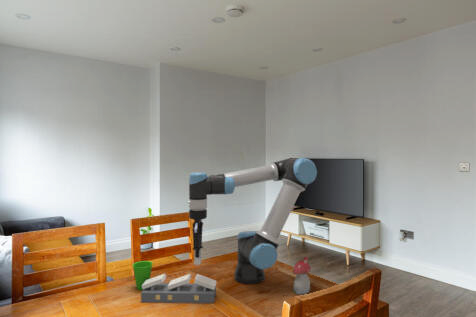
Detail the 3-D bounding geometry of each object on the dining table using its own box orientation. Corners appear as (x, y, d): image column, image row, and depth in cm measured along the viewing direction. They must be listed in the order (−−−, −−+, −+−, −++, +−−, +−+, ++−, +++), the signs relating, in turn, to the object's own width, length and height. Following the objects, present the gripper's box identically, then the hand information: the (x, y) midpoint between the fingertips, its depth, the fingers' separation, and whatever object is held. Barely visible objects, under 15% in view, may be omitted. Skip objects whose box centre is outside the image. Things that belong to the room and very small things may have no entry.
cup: (147, 293, 138) (147, 268, 138) (128, 291, 140) (128, 266, 140) (156, 284, 147) (156, 261, 147) (138, 283, 149) (138, 260, 149)
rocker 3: (215, 284, 136) (216, 280, 136) (214, 290, 130) (215, 286, 130) (196, 277, 137) (197, 273, 137) (193, 282, 131) (195, 279, 131)
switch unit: (215, 292, 138) (215, 280, 138) (213, 303, 128) (213, 290, 128) (148, 291, 139) (148, 279, 139) (140, 302, 129) (140, 289, 129)
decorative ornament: (306, 287, 144) (306, 254, 144) (315, 293, 138) (315, 259, 138) (288, 291, 140) (289, 257, 140) (297, 297, 134) (297, 262, 134)
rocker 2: (191, 277, 137) (190, 273, 137) (189, 282, 131) (187, 279, 131) (172, 283, 137) (171, 280, 137) (168, 289, 131) (167, 286, 131)
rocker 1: (166, 276, 137) (165, 273, 137) (162, 282, 131) (161, 278, 131) (147, 283, 137) (146, 280, 137) (142, 289, 131) (141, 285, 131)
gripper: (191, 206, 140) (191, 259, 140) (186, 211, 127) (186, 269, 127) (208, 206, 140) (208, 259, 140) (204, 211, 127) (204, 269, 127)
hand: (197, 264), depth 134 cm, fingers closed
